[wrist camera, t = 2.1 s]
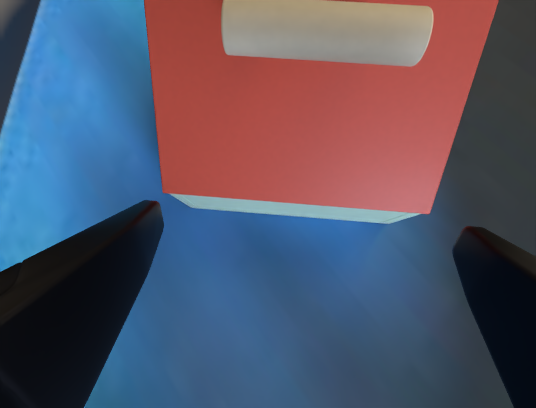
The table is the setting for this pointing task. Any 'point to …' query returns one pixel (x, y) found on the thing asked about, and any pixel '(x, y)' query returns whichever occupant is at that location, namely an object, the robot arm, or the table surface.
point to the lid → (312, 97)
